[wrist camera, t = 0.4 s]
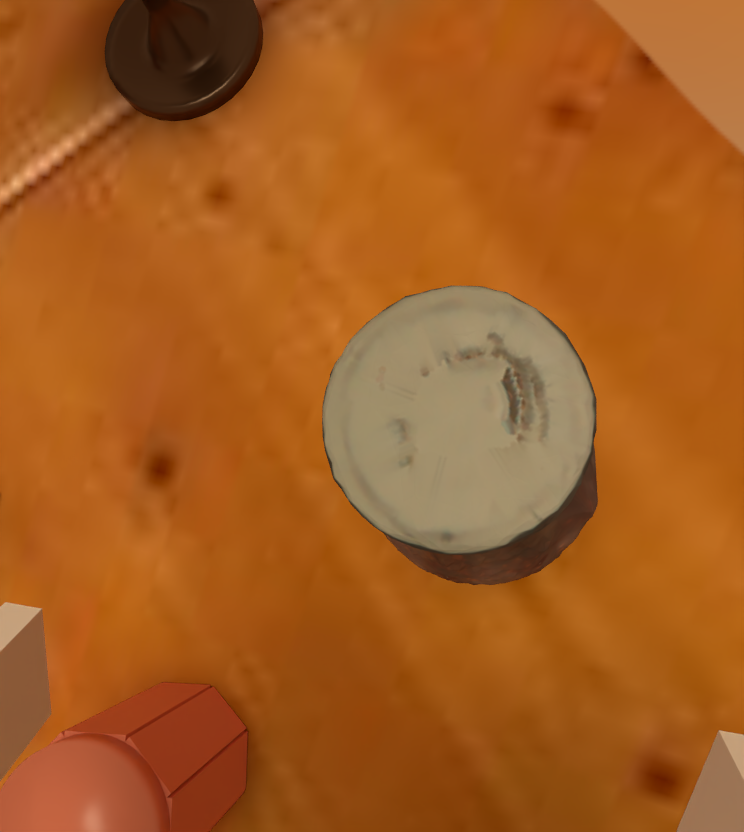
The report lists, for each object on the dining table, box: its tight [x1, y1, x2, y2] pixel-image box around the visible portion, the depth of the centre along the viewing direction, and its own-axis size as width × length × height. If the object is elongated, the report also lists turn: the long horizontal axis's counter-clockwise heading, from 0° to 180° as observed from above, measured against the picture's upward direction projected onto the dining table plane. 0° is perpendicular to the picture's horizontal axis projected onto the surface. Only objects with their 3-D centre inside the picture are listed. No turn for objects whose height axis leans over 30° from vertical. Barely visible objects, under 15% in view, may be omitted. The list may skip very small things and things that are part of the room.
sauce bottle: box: [322, 286, 598, 585], centre depth 18 cm, size 6×6×20 cm
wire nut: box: [0, 682, 248, 832], centre depth 24 cm, size 6×6×8 cm
